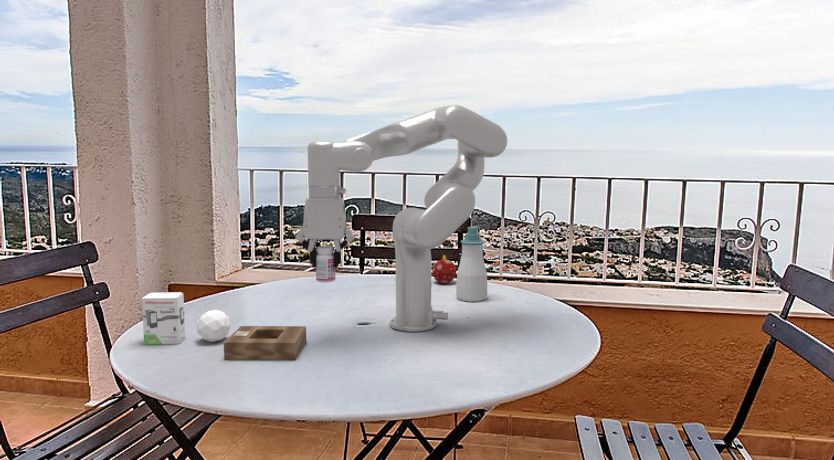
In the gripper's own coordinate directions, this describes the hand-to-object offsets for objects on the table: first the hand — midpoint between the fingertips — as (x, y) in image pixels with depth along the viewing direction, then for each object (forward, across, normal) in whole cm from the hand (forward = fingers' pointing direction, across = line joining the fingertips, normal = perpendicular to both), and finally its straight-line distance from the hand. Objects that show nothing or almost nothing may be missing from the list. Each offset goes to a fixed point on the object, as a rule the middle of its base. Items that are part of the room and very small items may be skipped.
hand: (325, 265), depth 139 cm
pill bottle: (+4, 0, 0) cm, 4 cm away
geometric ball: (+19, +27, +3) cm, 33 cm away
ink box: (+19, +39, +4) cm, 44 cm away
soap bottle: (+18, -40, -38) cm, 58 cm away
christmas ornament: (+18, -31, -60) cm, 70 cm away
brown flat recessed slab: (+18, +12, +10) cm, 24 cm away
